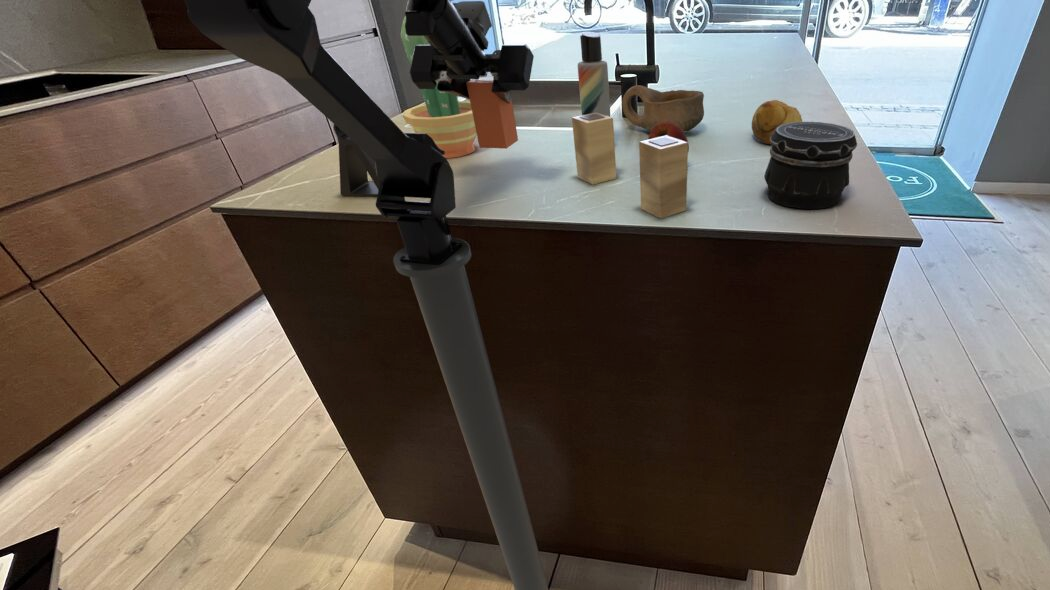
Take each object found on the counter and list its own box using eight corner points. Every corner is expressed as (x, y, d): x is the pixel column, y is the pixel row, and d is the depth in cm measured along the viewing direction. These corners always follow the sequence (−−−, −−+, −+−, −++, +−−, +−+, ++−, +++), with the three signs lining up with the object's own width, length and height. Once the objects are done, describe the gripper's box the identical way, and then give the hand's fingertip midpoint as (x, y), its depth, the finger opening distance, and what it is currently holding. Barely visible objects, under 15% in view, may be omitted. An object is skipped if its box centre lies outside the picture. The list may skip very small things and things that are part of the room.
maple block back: (616, 178, 93) (613, 116, 86) (592, 185, 90) (587, 122, 84) (601, 171, 96) (596, 111, 90) (577, 177, 94) (571, 116, 87)
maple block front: (686, 210, 80) (688, 141, 74) (660, 218, 78) (660, 148, 72) (666, 201, 84) (666, 134, 77) (640, 209, 81) (638, 140, 75)
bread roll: (745, 131, 114) (748, 90, 109) (789, 129, 114) (795, 88, 109) (755, 148, 104) (760, 104, 99) (805, 146, 104) (812, 102, 99)
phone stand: (407, 184, 93) (385, 111, 86) (391, 196, 89) (366, 120, 81) (359, 183, 94) (334, 111, 87) (341, 196, 90) (312, 120, 82)
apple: (638, 170, 96) (636, 123, 91) (665, 159, 100) (665, 114, 95) (669, 178, 92) (669, 130, 87) (696, 167, 96) (698, 120, 91)
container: (842, 184, 87) (855, 120, 81) (848, 214, 77) (864, 144, 71) (763, 180, 90) (771, 118, 83) (760, 209, 80) (768, 141, 74)
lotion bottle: (599, 140, 112) (591, 29, 100) (617, 145, 109) (611, 31, 96) (578, 146, 109) (568, 33, 97) (597, 151, 105) (588, 35, 93)
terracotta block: (506, 148, 89) (494, 81, 82) (479, 147, 89) (465, 81, 83) (518, 140, 92) (507, 75, 86) (492, 139, 93) (479, 75, 87)
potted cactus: (450, 167, 100) (411, 10, 85) (397, 156, 107) (352, 8, 91) (506, 146, 110) (481, 2, 95) (455, 137, 117) (423, 1, 102)
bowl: (616, 135, 109) (615, 81, 105) (626, 137, 122) (625, 88, 118) (702, 134, 107) (704, 79, 103) (703, 136, 120) (705, 87, 116)
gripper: (517, -24, 72) (555, 56, 87) (396, -20, 75) (452, 56, 91) (504, 51, 71) (545, 119, 86) (381, 51, 74) (441, 116, 89)
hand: (495, 100), depth 88 cm, fingers closed on terracotta block, 5 cm apart
